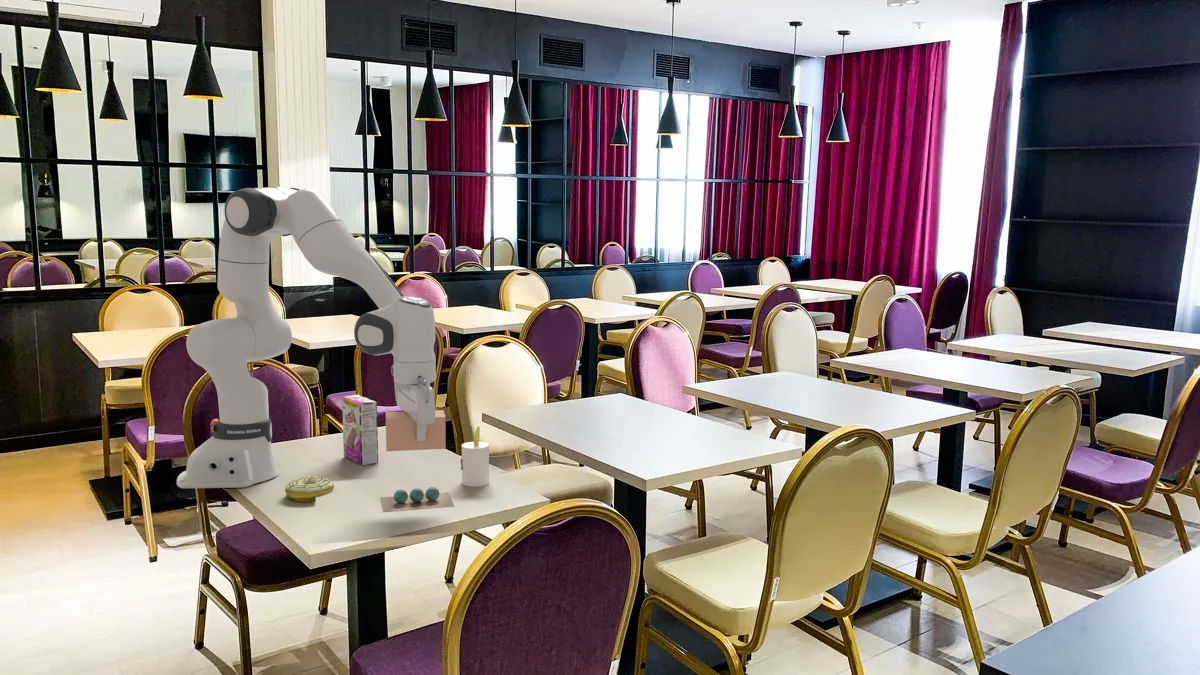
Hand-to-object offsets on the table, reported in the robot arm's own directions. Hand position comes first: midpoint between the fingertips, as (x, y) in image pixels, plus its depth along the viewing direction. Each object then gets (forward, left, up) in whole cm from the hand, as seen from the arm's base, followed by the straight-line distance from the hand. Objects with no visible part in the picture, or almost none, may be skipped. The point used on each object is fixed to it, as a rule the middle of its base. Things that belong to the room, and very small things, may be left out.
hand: (415, 435), depth 193 cm
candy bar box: (-10, +42, -17) cm, 46 cm away
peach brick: (0, 0, -2) cm, 2 cm away
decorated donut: (-22, +15, -17) cm, 32 cm away
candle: (+15, +11, -17) cm, 25 cm away
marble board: (0, 0, -16) cm, 16 cm away
